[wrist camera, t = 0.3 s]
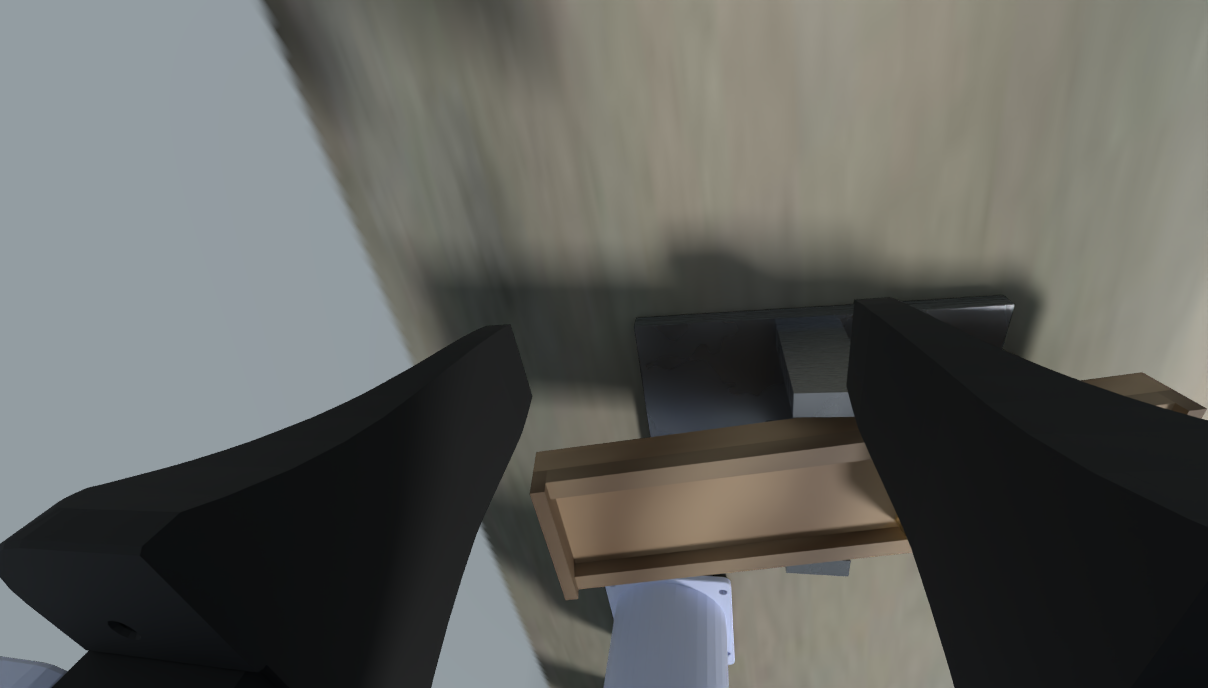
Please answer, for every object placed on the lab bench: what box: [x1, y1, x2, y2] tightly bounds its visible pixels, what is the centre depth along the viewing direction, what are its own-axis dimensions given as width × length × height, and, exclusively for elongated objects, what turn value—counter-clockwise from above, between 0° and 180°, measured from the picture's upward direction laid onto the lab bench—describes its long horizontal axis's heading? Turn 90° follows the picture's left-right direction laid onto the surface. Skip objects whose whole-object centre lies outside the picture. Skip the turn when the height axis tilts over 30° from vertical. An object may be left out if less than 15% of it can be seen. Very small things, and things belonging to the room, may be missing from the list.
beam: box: [530, 373, 1207, 600], centre depth 18 cm, size 21×7×3 cm, turn 99°
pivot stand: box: [634, 295, 1015, 576], centre depth 20 cm, size 10×14×5 cm
